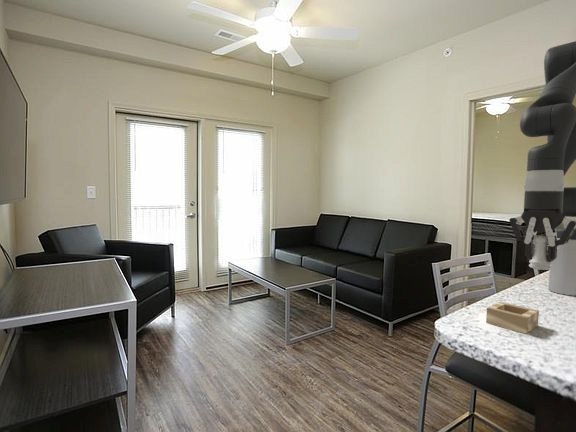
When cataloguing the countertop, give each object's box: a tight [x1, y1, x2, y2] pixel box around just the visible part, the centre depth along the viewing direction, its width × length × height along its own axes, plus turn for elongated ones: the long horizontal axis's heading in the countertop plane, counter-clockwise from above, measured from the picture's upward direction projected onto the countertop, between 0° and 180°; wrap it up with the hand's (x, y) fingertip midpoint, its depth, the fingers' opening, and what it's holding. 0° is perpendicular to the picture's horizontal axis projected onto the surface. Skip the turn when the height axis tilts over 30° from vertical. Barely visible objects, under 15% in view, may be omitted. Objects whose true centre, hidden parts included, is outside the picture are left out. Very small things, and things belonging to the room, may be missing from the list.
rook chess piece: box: [528, 234, 551, 271], centre depth 82 cm, size 4×4×8 cm
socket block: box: [485, 301, 540, 334], centre depth 78 cm, size 8×8×4 cm
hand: (539, 259), depth 82 cm, fingers closed on rook chess piece, 3 cm apart
